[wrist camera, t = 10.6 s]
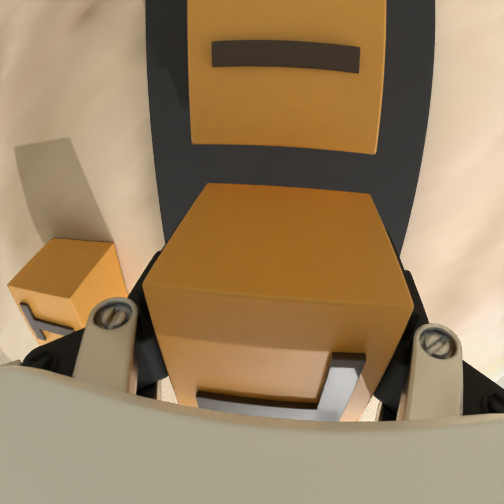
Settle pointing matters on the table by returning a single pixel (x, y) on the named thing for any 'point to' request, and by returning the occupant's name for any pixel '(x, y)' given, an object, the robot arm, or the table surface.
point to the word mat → (294, 158)
